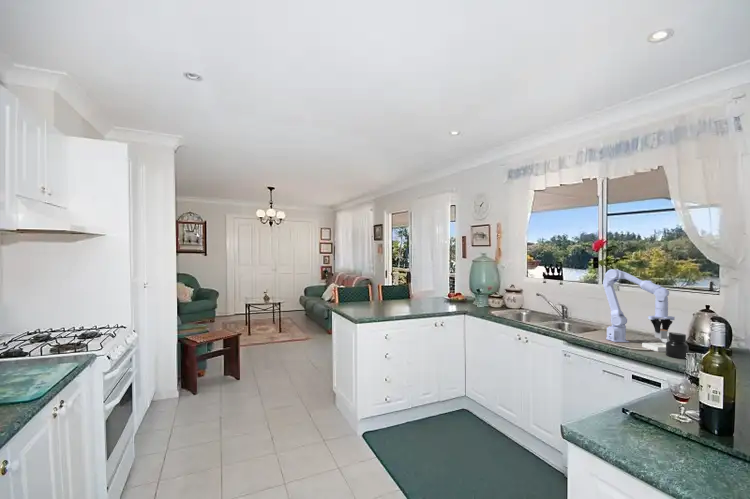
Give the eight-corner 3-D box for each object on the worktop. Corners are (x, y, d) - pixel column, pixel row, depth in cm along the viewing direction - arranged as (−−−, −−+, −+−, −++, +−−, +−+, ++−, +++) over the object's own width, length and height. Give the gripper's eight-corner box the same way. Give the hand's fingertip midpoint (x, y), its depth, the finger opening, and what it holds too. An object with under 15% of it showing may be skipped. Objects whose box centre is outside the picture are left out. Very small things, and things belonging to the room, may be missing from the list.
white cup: (677, 336, 211) (686, 339, 202) (668, 346, 212) (677, 349, 203) (663, 328, 214) (672, 330, 204) (655, 338, 215) (663, 341, 205)
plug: (660, 338, 197) (661, 330, 197) (654, 337, 201) (654, 328, 201) (667, 338, 197) (667, 330, 197) (660, 337, 201) (661, 328, 201)
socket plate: (657, 351, 190) (657, 346, 190) (642, 347, 200) (642, 341, 200) (684, 352, 191) (684, 346, 191) (667, 347, 201) (668, 342, 201)
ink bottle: (692, 358, 178) (692, 335, 178) (685, 360, 173) (685, 336, 174) (669, 353, 186) (669, 331, 187) (661, 355, 182) (661, 332, 182)
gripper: (656, 309, 194) (655, 333, 194) (679, 309, 196) (679, 334, 195) (645, 307, 201) (644, 331, 201) (668, 308, 203) (667, 331, 202)
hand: (661, 332), depth 199 cm, fingers closed on plug, 4 cm apart
